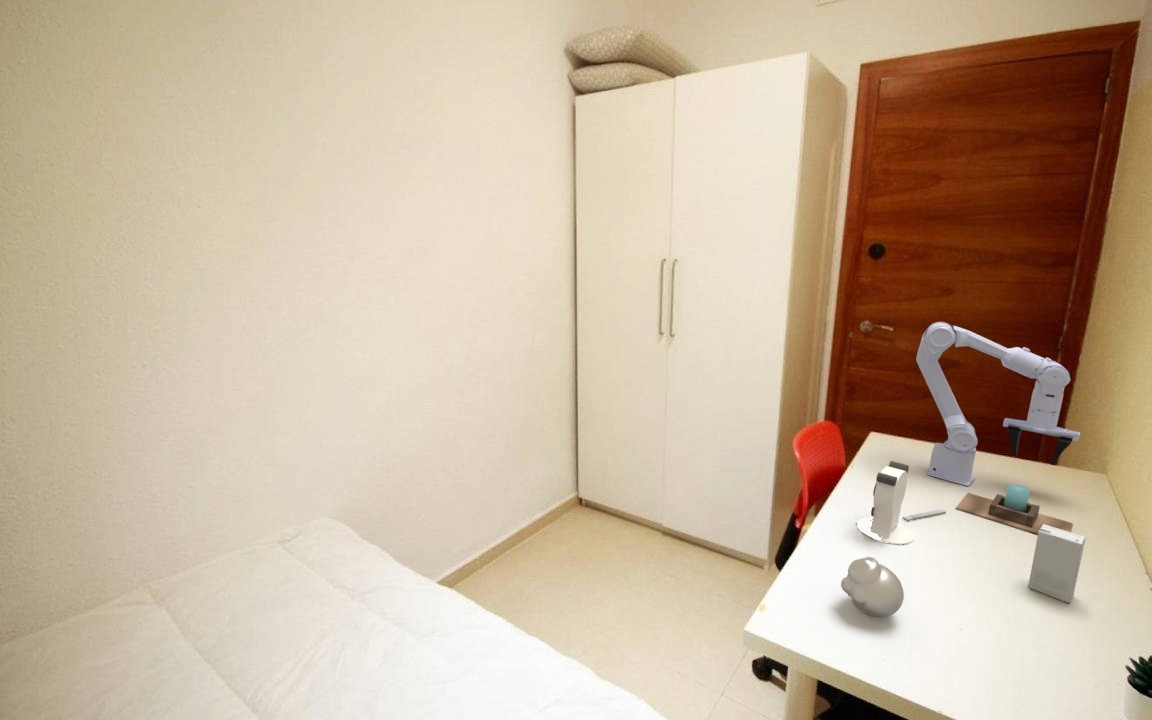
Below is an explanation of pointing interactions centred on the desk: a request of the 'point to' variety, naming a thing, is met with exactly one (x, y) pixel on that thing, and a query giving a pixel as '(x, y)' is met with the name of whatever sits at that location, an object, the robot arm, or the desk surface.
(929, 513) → the light grey rod
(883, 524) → the white tall piece
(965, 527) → the desk surface
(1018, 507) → the teal peg
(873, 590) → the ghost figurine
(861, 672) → the desk surface
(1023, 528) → the peg stand
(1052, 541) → the skincare box
